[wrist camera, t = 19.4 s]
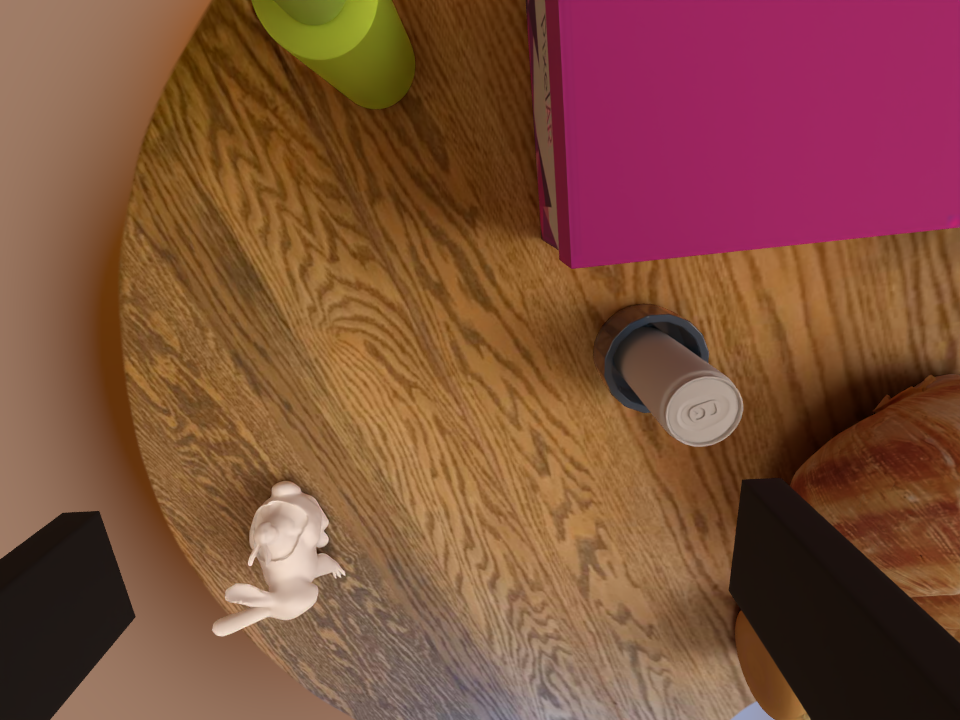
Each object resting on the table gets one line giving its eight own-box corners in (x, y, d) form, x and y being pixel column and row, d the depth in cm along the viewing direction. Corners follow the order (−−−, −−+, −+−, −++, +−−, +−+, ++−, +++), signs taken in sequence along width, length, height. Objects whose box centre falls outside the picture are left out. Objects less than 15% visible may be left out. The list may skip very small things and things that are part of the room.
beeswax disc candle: (761, 653, 51) (825, 757, 41) (725, 655, 51) (780, 759, 42) (772, 580, 48) (843, 673, 39) (733, 581, 48) (795, 675, 39)
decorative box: (517, -50, 32) (546, -246, 18) (810, -88, 32) (1077, -322, 18) (537, 243, 38) (571, 268, 24) (785, 216, 38) (971, 226, 23)
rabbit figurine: (347, 576, 48) (315, 665, 39) (272, 584, 48) (222, 674, 39) (318, 468, 44) (275, 538, 35) (237, 478, 45) (173, 550, 36)
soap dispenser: (375, -21, 33) (231, -323, 14) (431, 78, 35) (372, -69, 16) (305, 32, 34) (81, -183, 15) (363, 126, 36) (231, 41, 17)
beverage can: (604, 336, 40) (653, 390, 29) (662, 315, 39) (736, 362, 28) (621, 388, 41) (674, 459, 30) (677, 368, 41) (753, 433, 29)
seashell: (874, 301, 38) (1155, 387, 24) (1000, 396, 45) (1269, 503, 32) (710, 508, 43) (867, 673, 30) (847, 563, 50) (1022, 715, 37)
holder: (643, 283, 39) (660, 292, 35) (706, 346, 41) (730, 361, 37) (573, 353, 41) (583, 369, 37) (637, 410, 43) (652, 431, 39)
